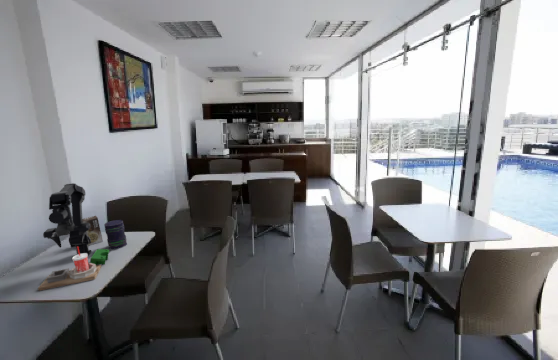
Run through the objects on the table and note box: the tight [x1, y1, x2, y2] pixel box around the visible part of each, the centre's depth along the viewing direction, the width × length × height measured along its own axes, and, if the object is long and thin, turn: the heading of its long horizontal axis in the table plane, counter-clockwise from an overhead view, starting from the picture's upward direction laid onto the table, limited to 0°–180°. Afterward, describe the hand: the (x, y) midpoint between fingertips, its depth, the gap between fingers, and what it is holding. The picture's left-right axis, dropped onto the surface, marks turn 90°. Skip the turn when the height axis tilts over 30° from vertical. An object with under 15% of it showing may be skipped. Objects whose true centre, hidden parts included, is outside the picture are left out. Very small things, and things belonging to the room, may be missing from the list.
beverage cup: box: [72, 246, 89, 273], centre depth 132 cm, size 6×6×14 cm
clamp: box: [89, 248, 110, 265], centre depth 146 cm, size 12×6×9 cm, turn 12°
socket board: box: [37, 262, 102, 291], centre depth 132 cm, size 12×22×4 cm, turn 110°
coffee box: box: [82, 215, 104, 247], centre depth 172 cm, size 9×6×16 cm
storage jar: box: [104, 219, 128, 250], centre depth 165 cm, size 10×10×15 cm
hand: (71, 245), depth 142 cm, fingers open, 9 cm apart
